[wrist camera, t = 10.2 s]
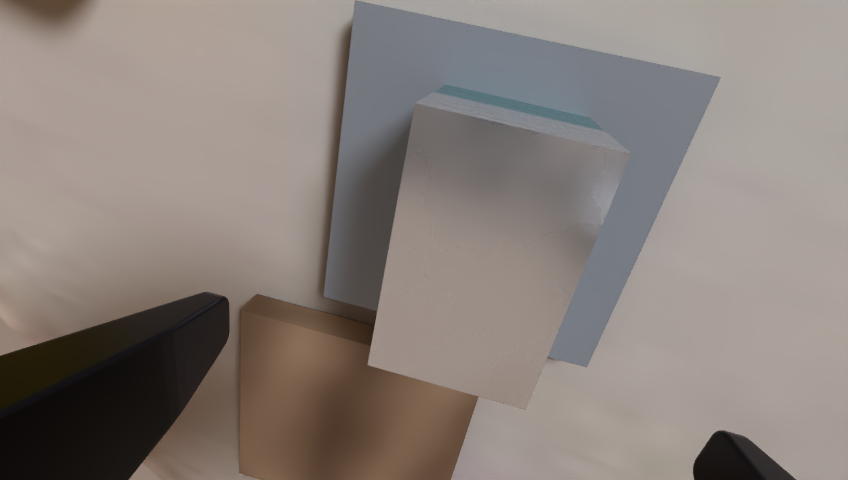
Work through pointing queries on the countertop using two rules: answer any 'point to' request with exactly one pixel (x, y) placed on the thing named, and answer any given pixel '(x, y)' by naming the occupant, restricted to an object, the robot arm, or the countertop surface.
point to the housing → (490, 240)
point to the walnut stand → (337, 403)
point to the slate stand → (518, 80)
